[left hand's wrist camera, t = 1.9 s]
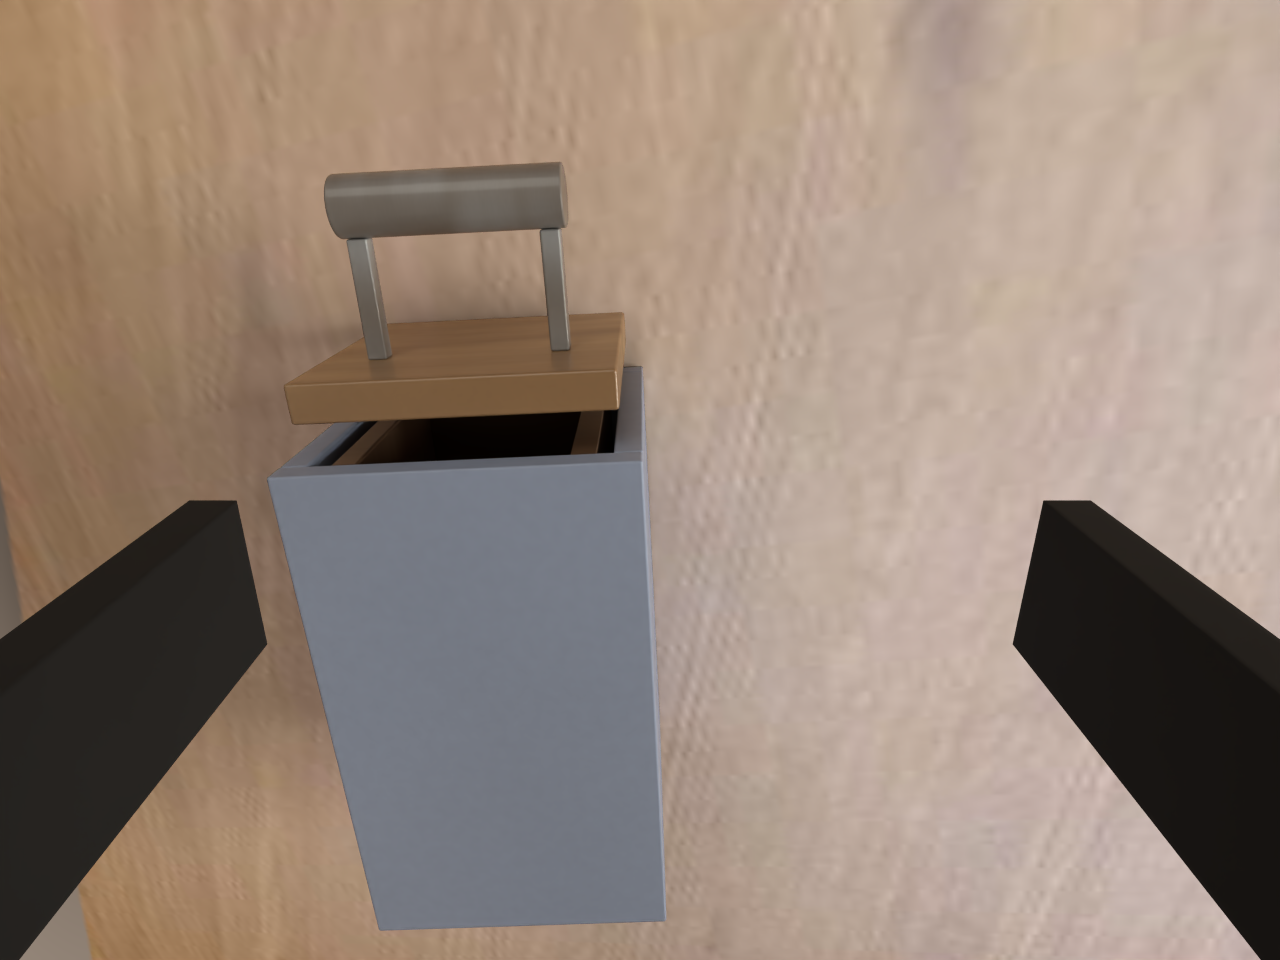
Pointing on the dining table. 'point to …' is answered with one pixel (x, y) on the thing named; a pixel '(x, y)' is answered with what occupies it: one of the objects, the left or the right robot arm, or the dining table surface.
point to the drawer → (464, 332)
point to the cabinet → (488, 675)
